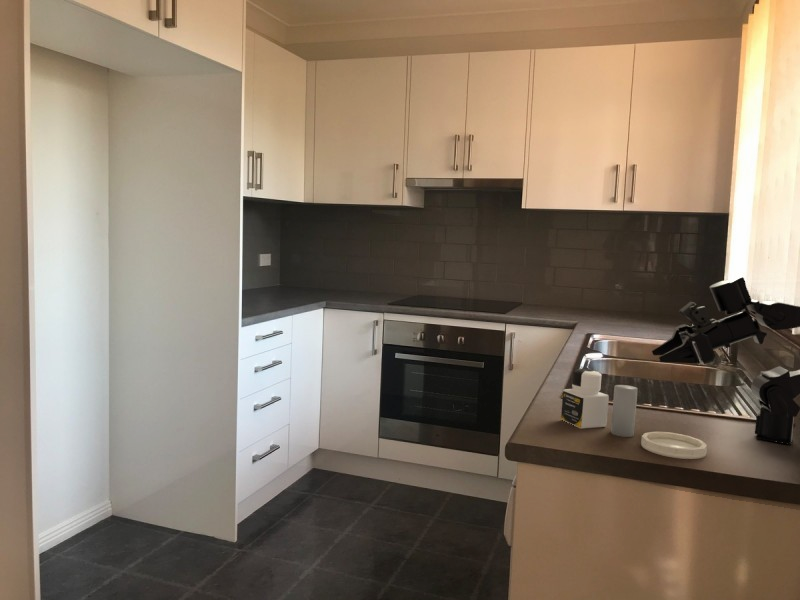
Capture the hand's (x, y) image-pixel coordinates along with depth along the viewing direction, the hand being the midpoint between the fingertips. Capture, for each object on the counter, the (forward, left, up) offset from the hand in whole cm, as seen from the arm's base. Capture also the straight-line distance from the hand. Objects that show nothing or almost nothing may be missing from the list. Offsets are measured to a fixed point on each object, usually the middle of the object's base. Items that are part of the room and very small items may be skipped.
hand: (655, 356), depth 148 cm
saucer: (-8, +15, -16) cm, 23 cm away
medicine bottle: (+12, +9, -16) cm, 22 cm away
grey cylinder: (+3, +11, -16) cm, 19 cm away
